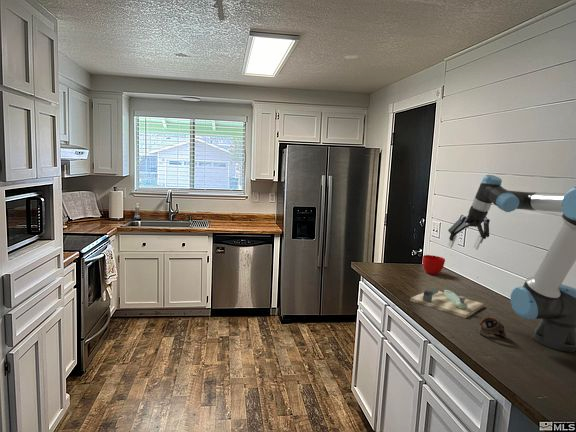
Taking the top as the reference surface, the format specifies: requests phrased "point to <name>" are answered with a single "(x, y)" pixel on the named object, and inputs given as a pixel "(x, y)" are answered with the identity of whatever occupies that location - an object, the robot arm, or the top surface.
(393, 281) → the top surface
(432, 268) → the ceramic cup
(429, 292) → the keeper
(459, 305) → the link
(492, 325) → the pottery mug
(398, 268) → the top surface
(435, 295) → the base board
